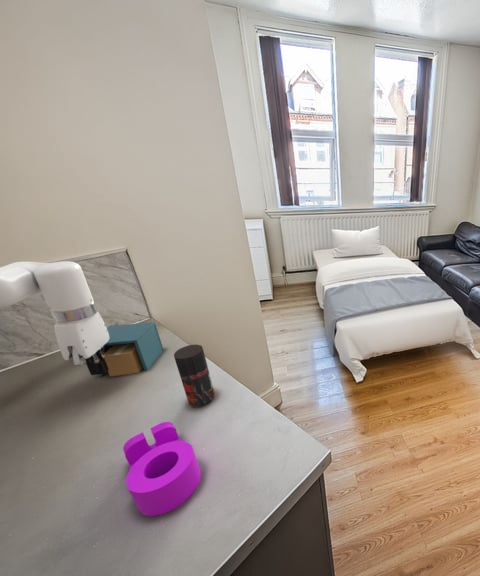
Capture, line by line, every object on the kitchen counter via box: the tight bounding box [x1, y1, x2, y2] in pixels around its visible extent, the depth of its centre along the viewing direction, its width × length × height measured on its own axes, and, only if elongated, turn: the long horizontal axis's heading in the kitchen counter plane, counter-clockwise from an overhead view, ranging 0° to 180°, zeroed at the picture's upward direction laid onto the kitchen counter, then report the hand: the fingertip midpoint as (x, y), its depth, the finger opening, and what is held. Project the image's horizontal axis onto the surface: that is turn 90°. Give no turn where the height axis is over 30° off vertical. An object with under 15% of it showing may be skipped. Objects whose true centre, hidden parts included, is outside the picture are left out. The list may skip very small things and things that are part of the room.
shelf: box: [98, 321, 164, 377], centre depth 87 cm, size 11×12×11 cm
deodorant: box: [173, 344, 216, 409], centre depth 72 cm, size 6×6×15 cm
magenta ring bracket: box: [122, 421, 202, 517], centre depth 55 cm, size 16×10×6 cm, turn 49°
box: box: [104, 343, 144, 377], centre depth 85 cm, size 7×7×7 cm
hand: (100, 372), depth 77 cm, fingers closed
